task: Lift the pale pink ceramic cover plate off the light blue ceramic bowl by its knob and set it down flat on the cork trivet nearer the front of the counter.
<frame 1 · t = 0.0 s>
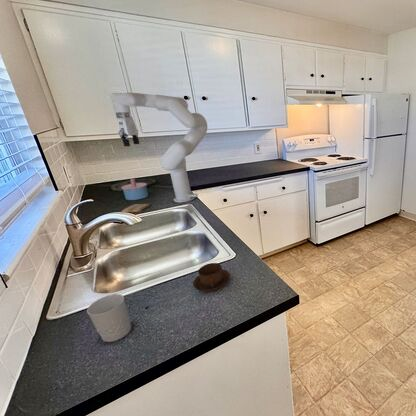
hand: (132, 145, 165), 37 cm above the worktop, tool pointing down, fingers open, 9 cm apart
plate lid: (134, 186, 184), point 7 cm above the worktop, touching bowl
trivet: (136, 208, 165), on the worktop
white cup: (117, 333, 75), on the worktop
bowl: (137, 196, 187), on the worktop
decorative plate: (134, 185, 213), on the worktop
cup and saucer: (213, 283, 95), on the worktop
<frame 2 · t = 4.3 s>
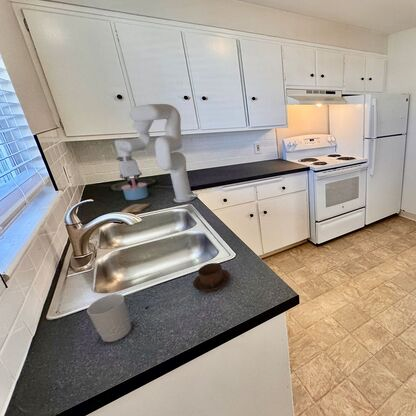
hand: (133, 185, 183), 9 cm above the worktop, tool pointing down, fingers closed on plate lid, 2 cm apart
plate lid: (134, 186, 184), point 8 cm above the worktop, touching bowl, gripper
everything else where it was.
when the fingers open (3 cm above the worktop, at t = 12.4 s): plate lid stays where it is, resting on trivet.
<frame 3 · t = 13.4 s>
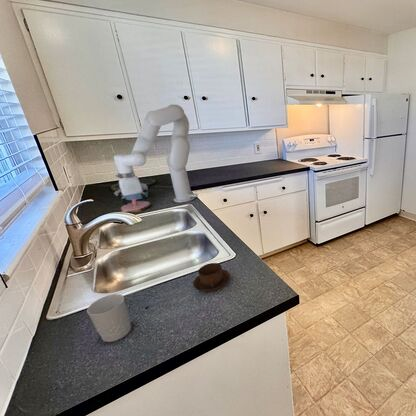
hand: (135, 202, 164), 4 cm above the worktop, tool pointing down, fingers open, 9 cm apart
plate lid: (135, 206, 165), point 2 cm above the worktop, touching trivet
everything else where it was.
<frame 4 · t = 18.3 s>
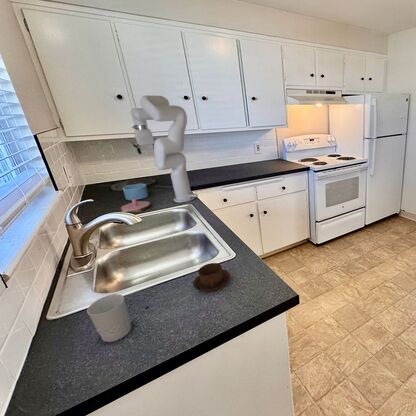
hand: (148, 152, 188), 28 cm above the worktop, tool pointing down, fingers open, 9 cm apart
nothing on the worktop moved.
at the end: plate lid inside the target area on the trivet (0.1 cm from its centre), point 1.6 cm above the trivet's base; plate lid tilted 0°; plate lid touching trivet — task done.
